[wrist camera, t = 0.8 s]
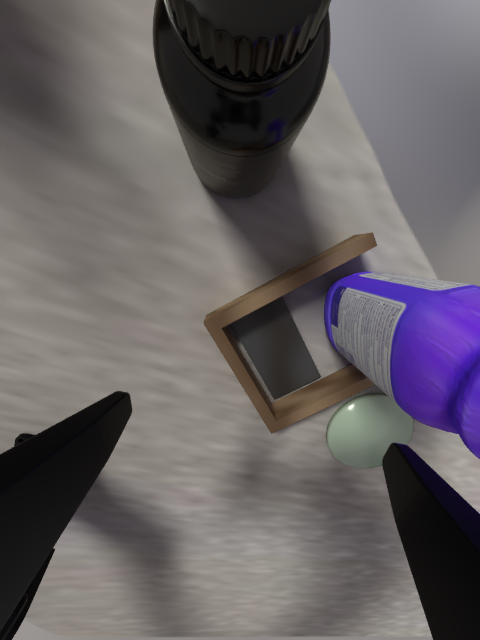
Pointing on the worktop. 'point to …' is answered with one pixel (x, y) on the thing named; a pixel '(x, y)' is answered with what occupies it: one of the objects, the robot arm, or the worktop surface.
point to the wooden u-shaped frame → (284, 343)
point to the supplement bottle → (240, 82)
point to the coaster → (367, 430)
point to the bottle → (413, 344)
